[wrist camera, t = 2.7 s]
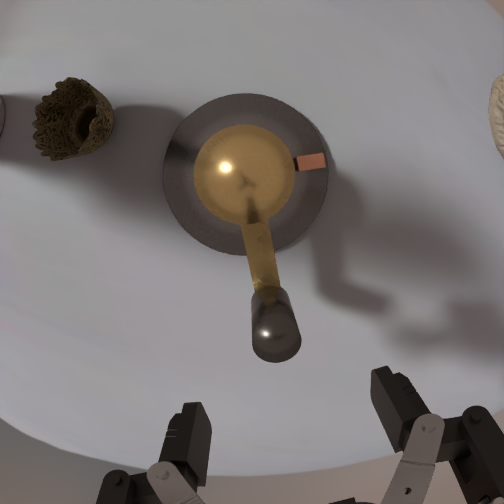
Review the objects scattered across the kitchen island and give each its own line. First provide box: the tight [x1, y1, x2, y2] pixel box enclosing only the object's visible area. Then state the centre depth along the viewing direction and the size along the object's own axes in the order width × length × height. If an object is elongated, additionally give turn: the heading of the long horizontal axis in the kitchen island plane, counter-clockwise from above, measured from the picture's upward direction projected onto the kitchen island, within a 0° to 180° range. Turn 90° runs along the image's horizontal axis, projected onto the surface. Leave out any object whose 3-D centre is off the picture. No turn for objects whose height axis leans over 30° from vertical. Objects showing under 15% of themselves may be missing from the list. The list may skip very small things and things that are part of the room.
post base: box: [163, 93, 328, 256], centre depth 25 cm, size 16×16×6 cm
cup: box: [32, 77, 114, 161], centre depth 23 cm, size 8×7×8 cm
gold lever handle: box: [194, 125, 301, 363], centre depth 19 cm, size 15×7×8 cm, turn 11°
